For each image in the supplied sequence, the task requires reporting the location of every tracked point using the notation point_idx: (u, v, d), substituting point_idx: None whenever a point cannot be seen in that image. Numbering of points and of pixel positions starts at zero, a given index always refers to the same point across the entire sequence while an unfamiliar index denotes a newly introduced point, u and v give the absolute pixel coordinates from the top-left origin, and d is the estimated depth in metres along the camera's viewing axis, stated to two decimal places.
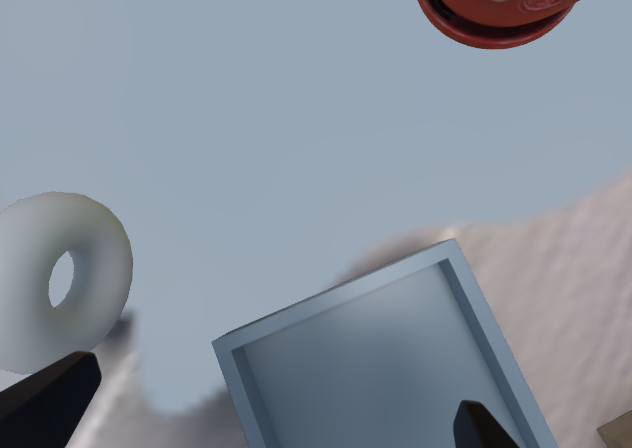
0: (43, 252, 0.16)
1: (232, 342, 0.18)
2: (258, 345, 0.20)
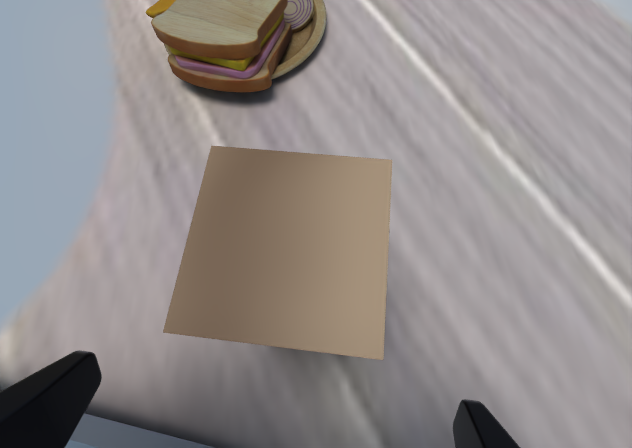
0: None
1: None
2: None
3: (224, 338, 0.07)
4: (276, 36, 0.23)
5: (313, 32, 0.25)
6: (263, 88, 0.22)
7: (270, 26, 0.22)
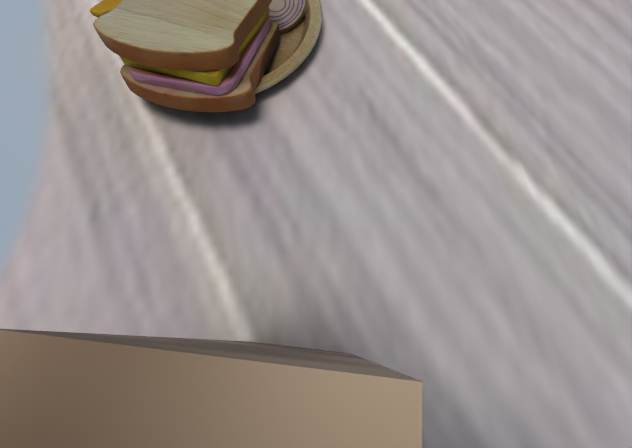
0: None
1: None
2: None
3: None
4: (259, 38, 0.18)
5: (306, 33, 0.20)
6: (244, 106, 0.17)
7: (251, 26, 0.17)
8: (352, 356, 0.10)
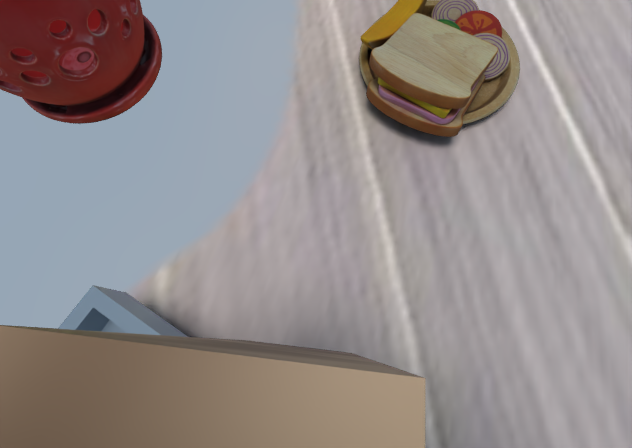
0: None
1: None
2: None
3: None
4: (473, 87, 0.24)
5: (504, 88, 0.26)
6: (451, 135, 0.24)
7: (477, 81, 0.23)
8: (353, 355, 0.10)
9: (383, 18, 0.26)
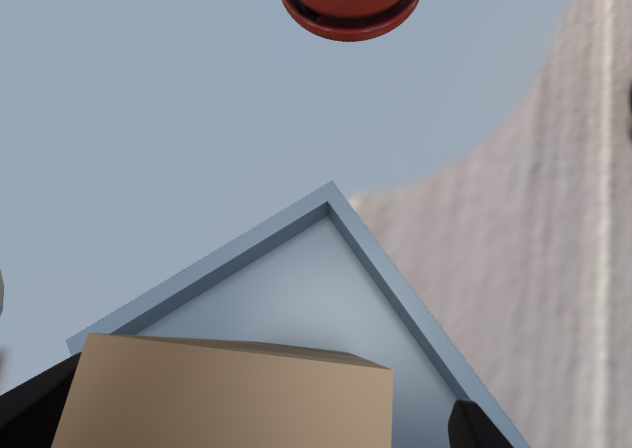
0: None
1: None
2: None
3: None
4: None
5: None
6: None
7: None
8: (350, 354, 0.12)
9: None
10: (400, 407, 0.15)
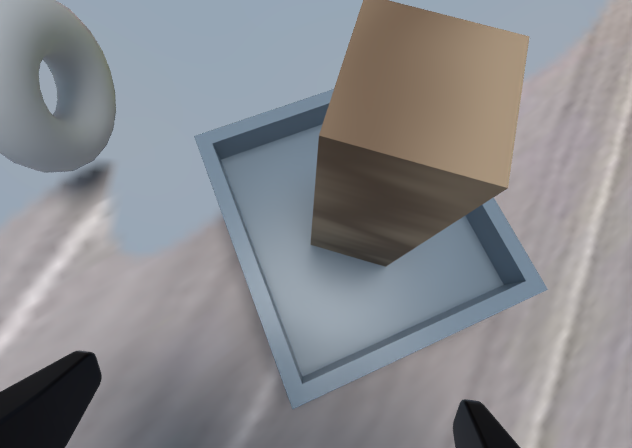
0: (41, 24, 0.17)
1: (214, 136, 0.19)
2: (237, 162, 0.21)
3: (372, 149, 0.08)
4: None
5: None
6: None
7: None
8: None
9: None
10: (436, 238, 0.20)
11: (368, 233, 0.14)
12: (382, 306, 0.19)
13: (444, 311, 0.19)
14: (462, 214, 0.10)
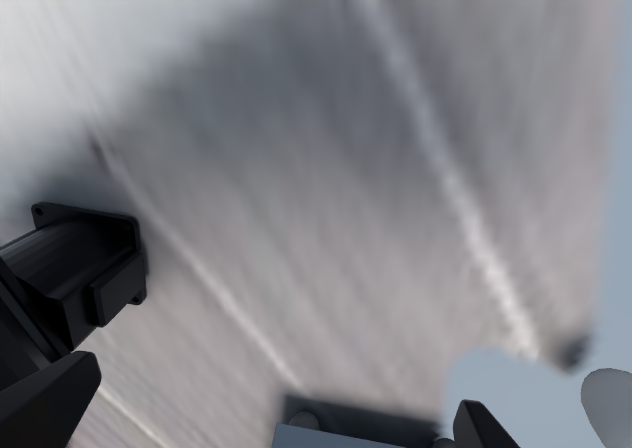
0: None
1: None
2: None
3: None
4: None
5: None
6: None
7: None
8: None
9: None
10: None
11: None
12: None
13: None
14: None
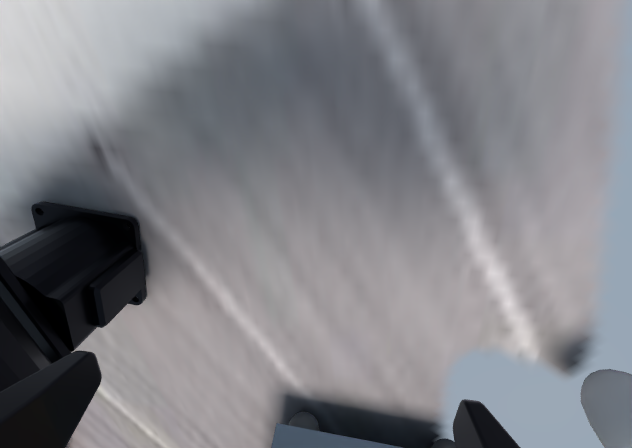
0: None
1: None
2: None
3: None
4: None
5: None
6: None
7: None
8: None
9: None
10: None
11: None
12: None
13: None
14: None
